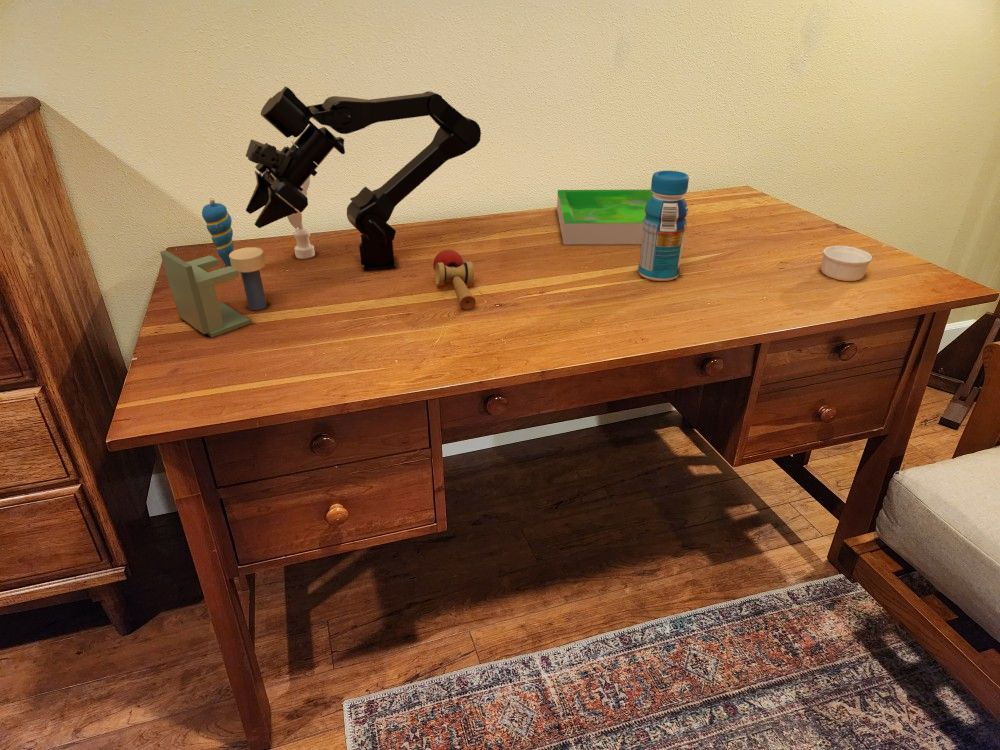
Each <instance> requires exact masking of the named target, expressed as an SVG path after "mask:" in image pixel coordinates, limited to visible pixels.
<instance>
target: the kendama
mask: <svg viewBox="0 0 1000 750" xmlns="http://www.w3.org/2000/svg"><path fill="white" fill-rule="evenodd" d="M432 263H433V264H432V266H433V269H434V281H435V284H436V285H437V286H440V287H441V286H444V285H445V284H446V283H447V282H452V284H453V288H454V292H455V294H456V297H457V300H458V303H459V306H460V308H461V309H463V310H466V311H469V310H471V309H473V308H474V307H475V305H476V298H475V296H474V295H473V293H471V291H470V289H469V287H472V286H473V284H474V281H475V269H474V264H473V262H472V261H464V259H463V256H462V255H461V254H460V253H459V252H457V251H456V250H452V249H444V250H441V251H440V252H438V253H437V254H436V255H435V257H434V259H433V262H432Z"/></svg>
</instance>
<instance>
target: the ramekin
mask: <svg viewBox="0 0 1000 750" xmlns="http://www.w3.org/2000/svg"><path fill="white" fill-rule="evenodd" d="M872 260H873V256H872V255H871V254H870V253H869V252H868V251H866V250H864V249H861V248H859V247H854V246H850V245H849V246H847V245H829V246H827V247H825V248H824V249H823V250H822V261H821V265H820V270H821V272H822V273H823V275H824V276H827V277H828V278H831V279H833V280H838V281H843V282H855V281H860V280H861V279H864V277H865V274H866V272H867V269H868V267H869V265H870V263H871V261H872Z"/></svg>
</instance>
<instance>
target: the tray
mask: <svg viewBox="0 0 1000 750" xmlns="http://www.w3.org/2000/svg"><path fill="white" fill-rule="evenodd" d="M653 194H654V193H652V192H651V189H557V197H556V200H557V201H556V211H557V217H558V223H559V227H560V232H561V238H562V244H563V245H641V244H642V234H643V226H642V224H643V219H644V217H645V216H646V213H645V206H646V204H647V202H648V201H649V199H650V198H651V196H652V195H653Z"/></svg>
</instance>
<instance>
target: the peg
mask: <svg viewBox="0 0 1000 750" xmlns="http://www.w3.org/2000/svg"><path fill="white" fill-rule="evenodd" d="M229 258H230V262H231V267H233V268H234V269H236V270H238V273H240V277H241V279H242V283H243V288H244V293H245V298H246V301H247V302H246V303H247V306H248V309H249V310H250V311H261V310H264V309H265V308H266V307H267V306H268V305H267V300H266V294H265V290H264V286H263V281H262V277H261V275H262V274H261V270H262V269H264V268H265V267H266V264H267V263H266V258H265V253H264V250H263V249H262V248H260V247H253V246H252V247H251V246H249V247H242V248H238V249H235V250H233V252H231V253H230V254H229Z"/></svg>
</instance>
